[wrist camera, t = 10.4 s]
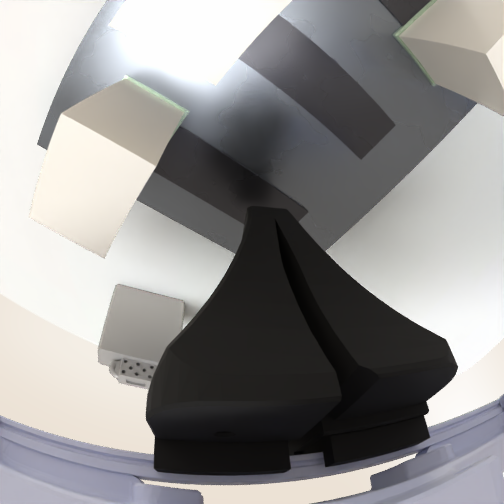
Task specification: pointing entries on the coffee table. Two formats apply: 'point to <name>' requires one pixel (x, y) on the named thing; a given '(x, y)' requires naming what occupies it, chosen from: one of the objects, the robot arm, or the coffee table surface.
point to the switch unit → (281, 116)
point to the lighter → (138, 333)
